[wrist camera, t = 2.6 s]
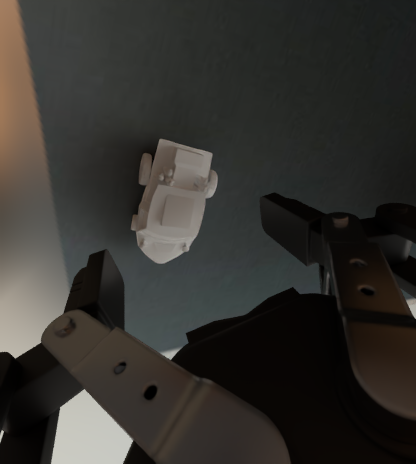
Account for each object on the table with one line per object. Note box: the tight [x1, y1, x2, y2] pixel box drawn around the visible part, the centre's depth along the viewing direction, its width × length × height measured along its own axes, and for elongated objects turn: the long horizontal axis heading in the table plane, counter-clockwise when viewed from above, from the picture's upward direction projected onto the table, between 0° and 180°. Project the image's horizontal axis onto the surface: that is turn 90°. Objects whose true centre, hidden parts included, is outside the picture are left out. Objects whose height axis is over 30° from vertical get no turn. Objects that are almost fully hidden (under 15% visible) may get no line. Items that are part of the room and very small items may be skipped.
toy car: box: [131, 139, 217, 264], centre depth 15 cm, size 5×8×4 cm, turn 164°
